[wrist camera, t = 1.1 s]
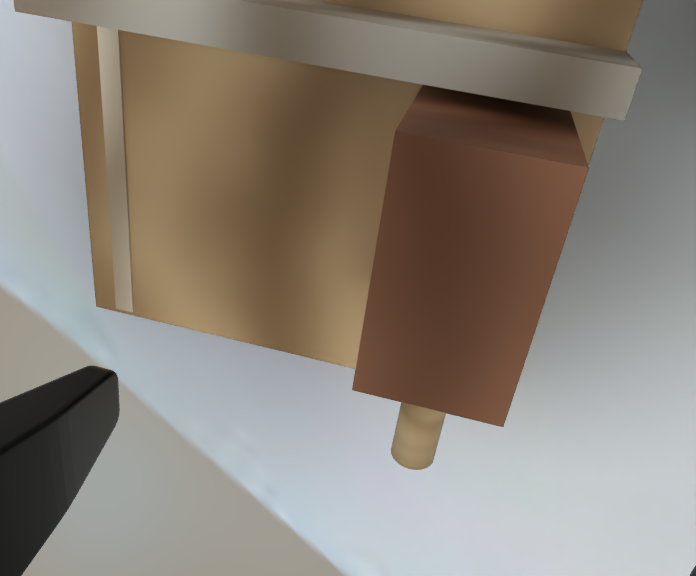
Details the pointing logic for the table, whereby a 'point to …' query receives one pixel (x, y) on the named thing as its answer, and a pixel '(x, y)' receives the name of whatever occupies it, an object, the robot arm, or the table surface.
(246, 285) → the board
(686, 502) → the table surface
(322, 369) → the table surface
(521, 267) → the brown block with peg
